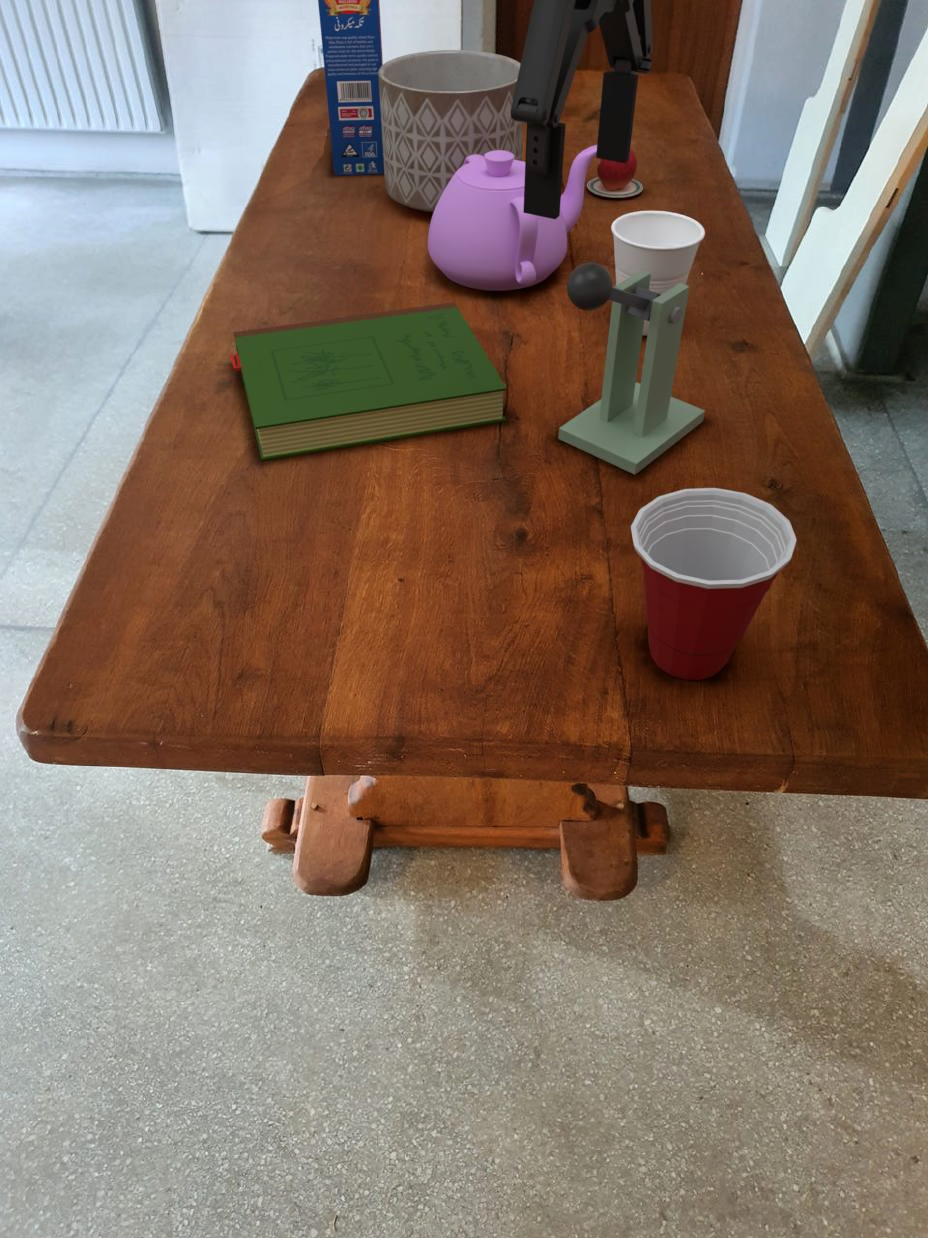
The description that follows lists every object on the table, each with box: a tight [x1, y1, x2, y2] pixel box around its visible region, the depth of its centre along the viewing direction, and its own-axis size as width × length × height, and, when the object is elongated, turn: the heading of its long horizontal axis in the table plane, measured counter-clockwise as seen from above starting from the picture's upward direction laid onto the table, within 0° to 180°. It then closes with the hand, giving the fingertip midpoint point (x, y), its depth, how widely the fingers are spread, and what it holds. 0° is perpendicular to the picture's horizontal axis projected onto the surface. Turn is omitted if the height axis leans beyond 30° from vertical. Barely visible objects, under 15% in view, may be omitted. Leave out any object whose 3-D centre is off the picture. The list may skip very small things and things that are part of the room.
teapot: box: [427, 144, 597, 292], centre depth 114 cm, size 22×22×14 cm
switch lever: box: [566, 262, 662, 321], centre depth 79 cm, size 14×4×4 cm, turn 138°
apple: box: [586, 147, 644, 199], centre depth 135 cm, size 8×8×6 cm
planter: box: [378, 49, 525, 213], centre depth 130 cm, size 19×19×16 cm
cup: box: [610, 210, 706, 337], centre depth 105 cm, size 10×10×11 cm
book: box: [230, 301, 507, 462], centre depth 97 cm, size 25×19×4 cm
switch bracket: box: [557, 270, 706, 476], centre depth 88 cm, size 12×9×15 cm
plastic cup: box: [630, 487, 798, 681], centre depth 67 cm, size 11×11×12 cm
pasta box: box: [317, 0, 384, 176], centre depth 142 cm, size 28×8×28 cm, turn 4°
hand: (578, 185), depth 76 cm, fingers open, 13 cm apart
